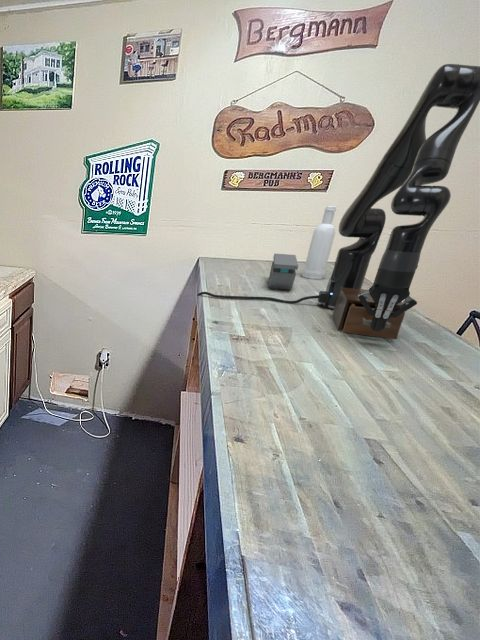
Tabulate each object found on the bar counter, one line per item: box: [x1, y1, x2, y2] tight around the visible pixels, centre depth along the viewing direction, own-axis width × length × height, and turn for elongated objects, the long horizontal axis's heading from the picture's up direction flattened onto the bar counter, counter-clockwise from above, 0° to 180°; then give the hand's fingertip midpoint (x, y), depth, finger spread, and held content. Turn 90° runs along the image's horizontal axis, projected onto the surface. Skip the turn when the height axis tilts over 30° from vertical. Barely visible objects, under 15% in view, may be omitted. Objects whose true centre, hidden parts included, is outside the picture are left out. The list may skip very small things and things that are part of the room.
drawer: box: [342, 303, 406, 340], centre depth 134 cm, size 20×12×8 cm, turn 151°
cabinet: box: [332, 287, 404, 332], centre depth 140 cm, size 17×14×10 cm
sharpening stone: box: [267, 253, 299, 291], centre depth 187 cm, size 25×8×11 cm, turn 151°
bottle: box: [301, 205, 337, 280], centre depth 197 cm, size 8×8×30 cm
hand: (375, 330), depth 126 cm, fingers closed
